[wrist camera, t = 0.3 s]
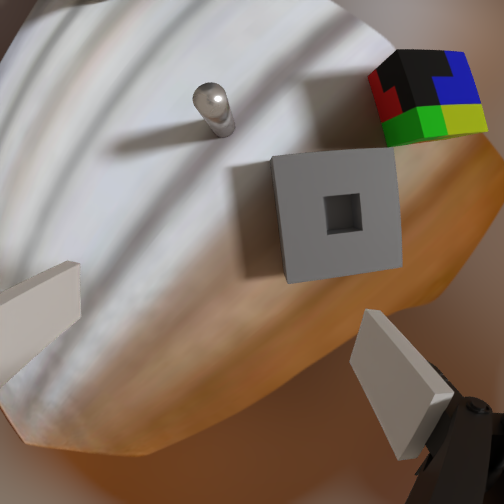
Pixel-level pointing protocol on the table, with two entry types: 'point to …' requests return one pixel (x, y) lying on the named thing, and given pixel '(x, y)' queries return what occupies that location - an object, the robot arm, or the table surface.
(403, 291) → the table surface
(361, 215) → the socket block
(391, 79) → the puzzle toy
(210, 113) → the pin
